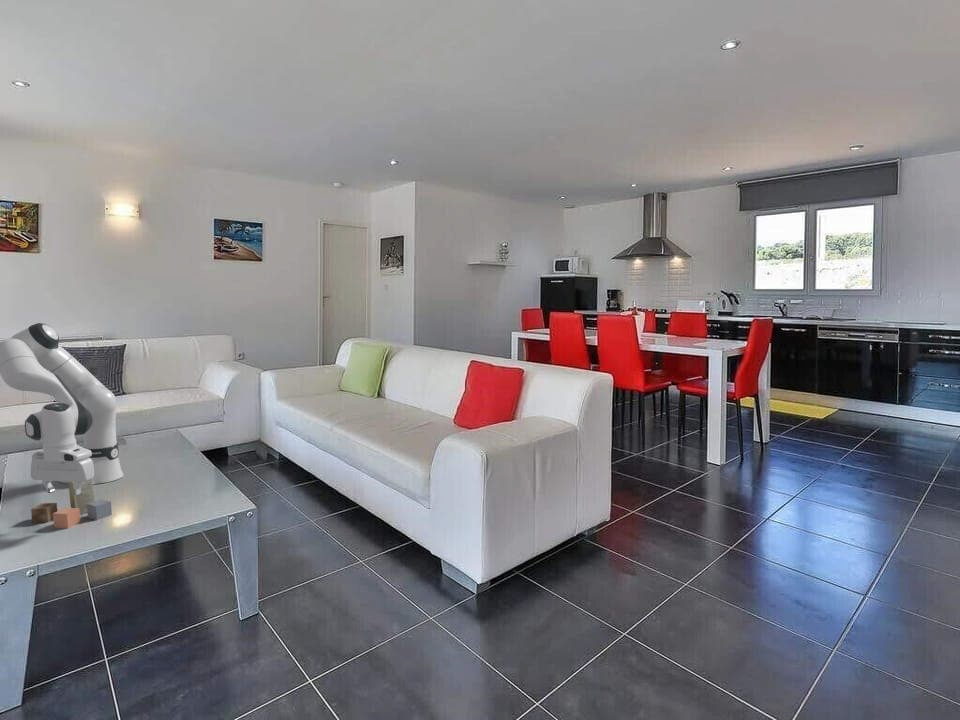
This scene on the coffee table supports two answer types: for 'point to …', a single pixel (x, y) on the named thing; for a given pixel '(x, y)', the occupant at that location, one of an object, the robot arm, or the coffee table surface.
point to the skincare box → (82, 496)
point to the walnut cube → (43, 512)
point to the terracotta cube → (66, 517)
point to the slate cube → (99, 509)
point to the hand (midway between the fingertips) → (63, 493)
